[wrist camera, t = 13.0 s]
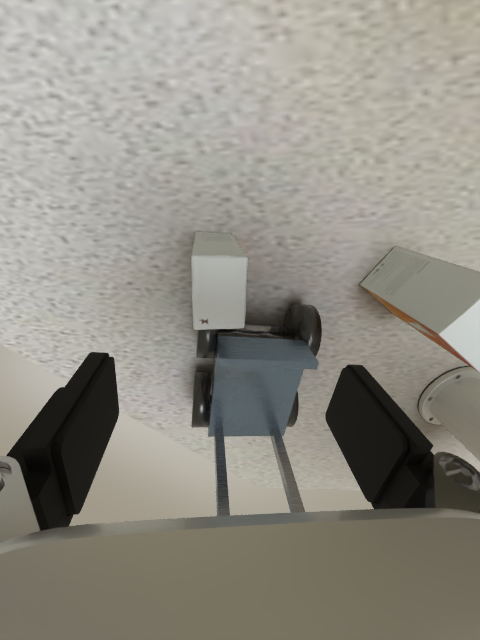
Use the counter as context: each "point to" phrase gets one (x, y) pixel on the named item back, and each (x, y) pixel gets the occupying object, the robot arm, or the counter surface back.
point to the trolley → (255, 389)
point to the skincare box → (218, 281)
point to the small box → (431, 299)
